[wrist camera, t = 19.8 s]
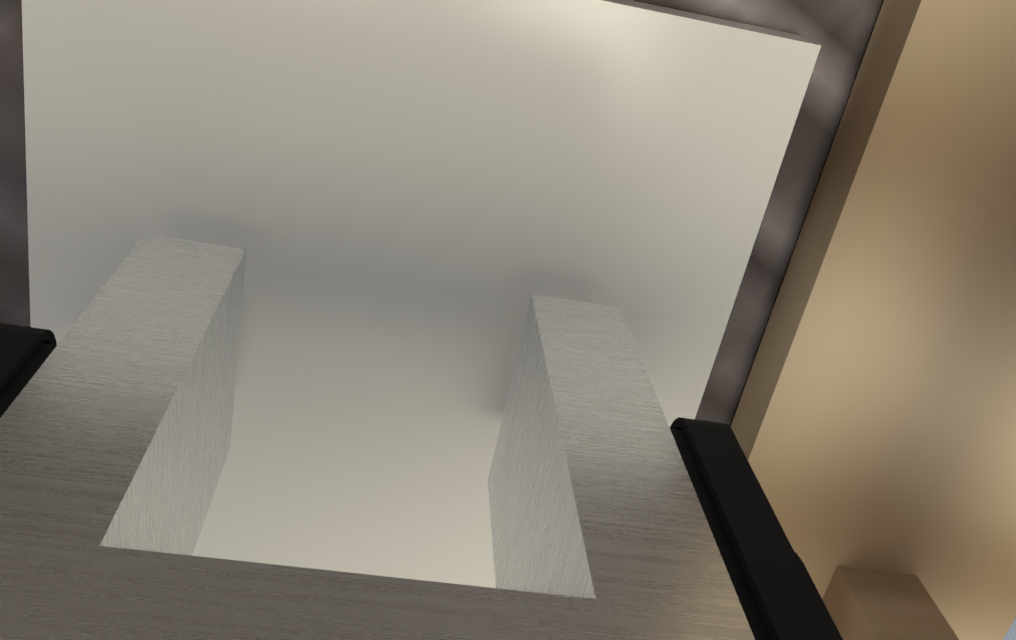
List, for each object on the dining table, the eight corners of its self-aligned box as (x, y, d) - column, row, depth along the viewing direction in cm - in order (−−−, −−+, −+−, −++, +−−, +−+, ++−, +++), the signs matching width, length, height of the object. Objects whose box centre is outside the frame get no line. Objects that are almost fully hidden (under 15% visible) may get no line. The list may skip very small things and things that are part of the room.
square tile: (54, 519, 16) (37, 550, 15) (44, -122, 11) (18, -120, 11) (621, 582, 17) (628, 613, 16) (799, 35, 13) (821, 46, 12)
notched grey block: (139, 437, 12) (-210, 1108, 6) (145, 232, 11) (-292, 791, 5) (568, 490, 13) (699, 1128, 7) (621, 306, 12) (846, 866, 5)
